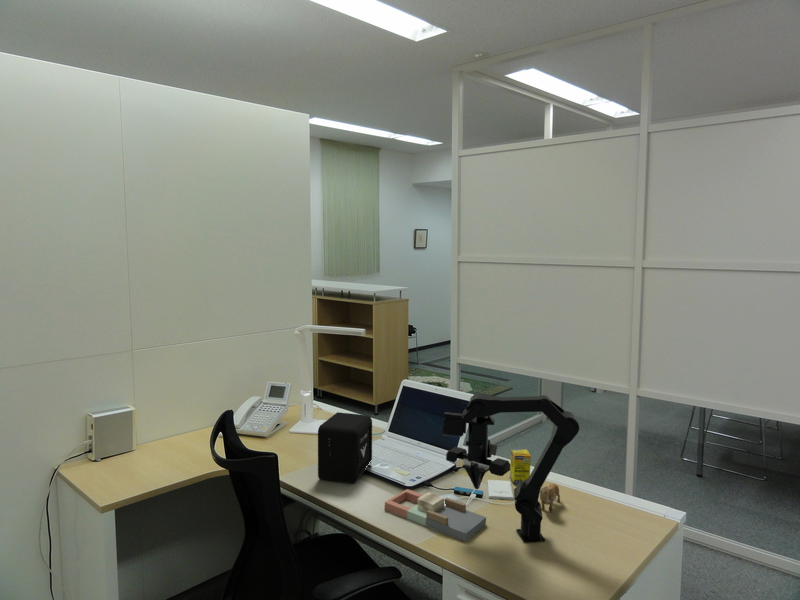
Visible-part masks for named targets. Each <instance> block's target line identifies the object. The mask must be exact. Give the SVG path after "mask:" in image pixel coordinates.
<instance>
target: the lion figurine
mask: <svg viewBox="0 0 800 600" xmlns="http://www.w3.org/2000/svg"><path fill="white" fill-rule="evenodd" d="M539 499H540V501H541V503H540V504H541V510H542V512H544V511H545V510H546V509H545V505H547V506H548V505H549V506H548V512H549V513H554V511H553V505H554V502H555V500H556V503H561V495H560V488H559V486H558V485H557V483H550V484H549V485H548V486H544V487H543V488H542V489H541V490H540V493H539Z"/></svg>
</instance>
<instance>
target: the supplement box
mask: <svg viewBox="0 0 800 600" xmlns="http://www.w3.org/2000/svg"><path fill="white" fill-rule="evenodd" d="M531 457H532V456H531V454H530V452H529V450H527V449H510V462H509V463H510V471H509V479H510V480H511V482H512V484H513V485H518V483H519V480H520V479H521V480H522V481H525V480H527V479H528V478H529V476H530V474H531Z"/></svg>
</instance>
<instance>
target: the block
mask: <svg viewBox="0 0 800 600" xmlns="http://www.w3.org/2000/svg"><path fill="white" fill-rule="evenodd" d="M444 502H445V497H444V496H440V495H437V494H436V493H433V492H430V491H428V492H426V493H425V494H423V496H421V497H420V498H418V502H417V503H416V505H417V508H419V509H421V510H424V511H428V510H431V511H433V512H437V511H439V510H440V509H442V508H443V507H444Z"/></svg>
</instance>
